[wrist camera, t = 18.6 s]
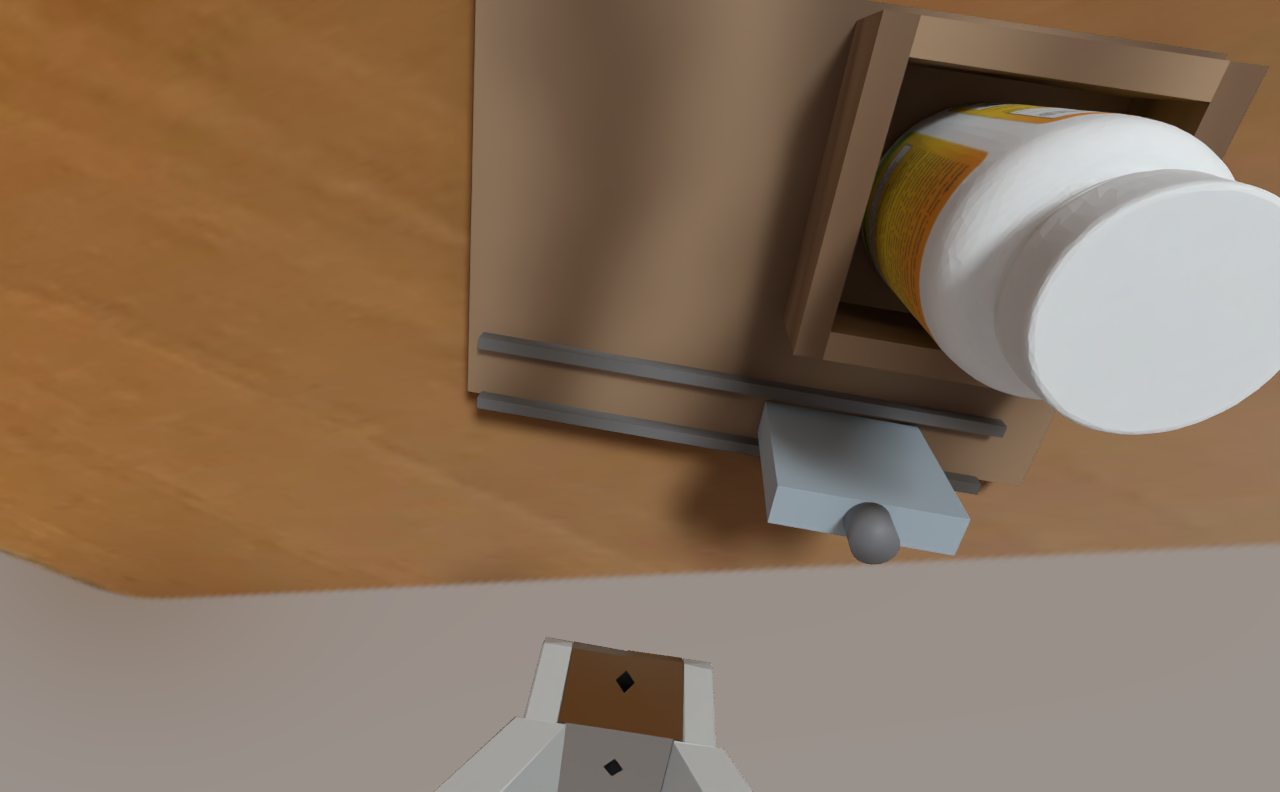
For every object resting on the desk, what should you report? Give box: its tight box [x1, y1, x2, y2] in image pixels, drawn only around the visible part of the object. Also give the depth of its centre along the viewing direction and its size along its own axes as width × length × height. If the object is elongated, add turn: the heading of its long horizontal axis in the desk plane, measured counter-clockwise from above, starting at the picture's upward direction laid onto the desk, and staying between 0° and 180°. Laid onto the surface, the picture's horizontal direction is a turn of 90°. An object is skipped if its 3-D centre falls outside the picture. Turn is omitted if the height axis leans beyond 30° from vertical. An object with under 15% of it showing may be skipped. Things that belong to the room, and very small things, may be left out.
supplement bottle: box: [861, 102, 1280, 435], centre depth 14 cm, size 5×5×10 cm
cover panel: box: [758, 401, 971, 564], centre depth 19 cm, size 5×1×6 cm, turn 82°
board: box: [468, 0, 1269, 495], centre depth 19 cm, size 19×13×4 cm
